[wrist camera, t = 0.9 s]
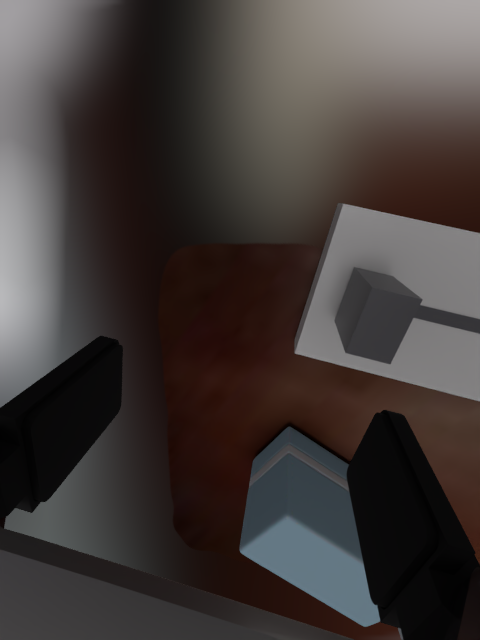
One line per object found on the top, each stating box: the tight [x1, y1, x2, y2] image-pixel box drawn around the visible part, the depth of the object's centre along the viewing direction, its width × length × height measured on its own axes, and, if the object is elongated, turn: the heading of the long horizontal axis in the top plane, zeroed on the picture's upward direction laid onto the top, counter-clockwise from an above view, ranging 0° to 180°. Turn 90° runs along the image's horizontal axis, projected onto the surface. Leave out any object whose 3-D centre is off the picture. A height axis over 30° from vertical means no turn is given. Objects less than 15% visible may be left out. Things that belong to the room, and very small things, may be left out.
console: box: [295, 203, 480, 401], centre depth 26 cm, size 28×14×3 cm, turn 78°
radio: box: [240, 427, 403, 640], centre depth 29 cm, size 16×9×20 cm, turn 57°
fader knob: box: [334, 267, 423, 364], centre depth 22 cm, size 3×5×6 cm, turn 168°
